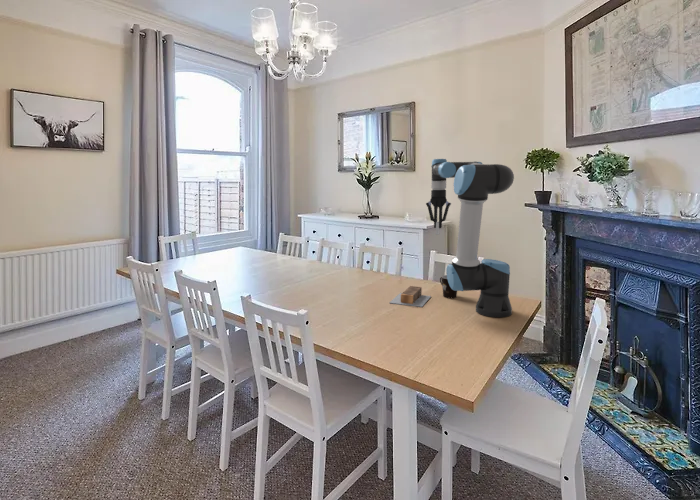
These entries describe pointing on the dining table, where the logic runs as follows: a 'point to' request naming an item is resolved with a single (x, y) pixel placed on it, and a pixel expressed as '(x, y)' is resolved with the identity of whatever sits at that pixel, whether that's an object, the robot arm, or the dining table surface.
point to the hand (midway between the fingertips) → (437, 234)
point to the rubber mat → (417, 303)
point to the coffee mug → (447, 288)
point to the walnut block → (411, 294)
